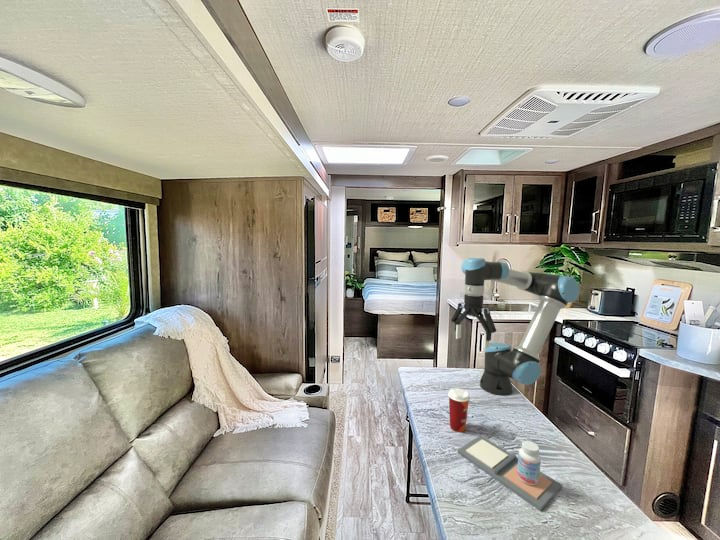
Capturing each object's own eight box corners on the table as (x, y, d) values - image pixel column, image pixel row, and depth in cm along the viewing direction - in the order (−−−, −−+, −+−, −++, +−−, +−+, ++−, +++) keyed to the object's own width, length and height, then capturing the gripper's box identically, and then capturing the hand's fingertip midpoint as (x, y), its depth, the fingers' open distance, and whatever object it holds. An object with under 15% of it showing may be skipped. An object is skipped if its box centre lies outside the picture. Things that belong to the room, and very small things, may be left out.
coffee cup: (469, 435, 116) (471, 399, 115) (447, 432, 118) (449, 396, 116) (466, 422, 125) (468, 388, 123) (446, 419, 126) (447, 386, 124)
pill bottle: (514, 478, 94) (516, 445, 93) (520, 467, 98) (522, 436, 97) (536, 489, 90) (538, 455, 88) (541, 478, 94) (543, 445, 93)
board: (480, 437, 115) (480, 432, 115) (561, 487, 92) (562, 481, 92) (457, 452, 107) (457, 446, 107) (540, 511, 84) (540, 504, 84)
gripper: (444, 290, 134) (442, 336, 136) (496, 300, 114) (493, 354, 116) (455, 289, 138) (453, 333, 141) (507, 298, 118) (504, 350, 120)
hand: (471, 342), depth 128 cm, fingers open, 13 cm apart
